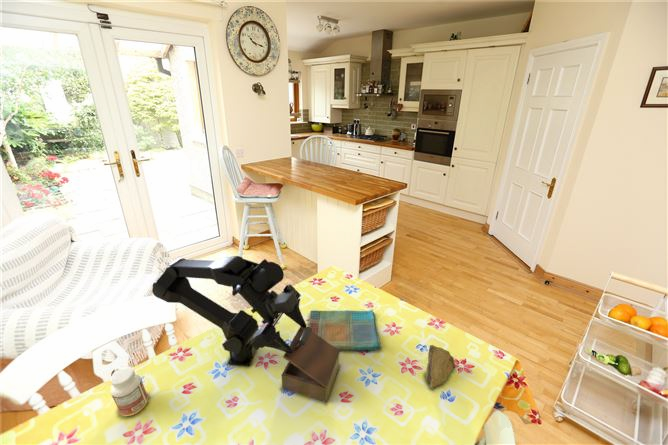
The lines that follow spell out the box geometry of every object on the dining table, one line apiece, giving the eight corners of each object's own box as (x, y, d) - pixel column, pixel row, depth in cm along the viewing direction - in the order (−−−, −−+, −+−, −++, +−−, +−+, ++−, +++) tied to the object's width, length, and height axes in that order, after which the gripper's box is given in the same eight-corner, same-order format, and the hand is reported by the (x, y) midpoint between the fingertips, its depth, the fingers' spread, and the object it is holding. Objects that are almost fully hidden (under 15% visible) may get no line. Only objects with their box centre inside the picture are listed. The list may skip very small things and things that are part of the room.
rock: (450, 349, 89) (419, 347, 88) (465, 346, 81) (432, 343, 80) (456, 390, 83) (423, 388, 82) (472, 391, 76) (436, 388, 75)
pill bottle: (128, 394, 76) (115, 364, 72) (152, 392, 77) (142, 362, 73) (114, 418, 71) (100, 387, 66) (140, 416, 71) (128, 385, 67)
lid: (282, 357, 74) (291, 346, 71) (300, 325, 84) (309, 314, 81) (325, 388, 73) (336, 378, 71) (338, 352, 83) (348, 342, 81)
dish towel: (381, 352, 90) (382, 346, 89) (306, 351, 90) (306, 345, 89) (374, 313, 106) (374, 308, 105) (310, 313, 106) (310, 307, 105)
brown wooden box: (282, 388, 79) (281, 374, 77) (299, 355, 89) (299, 342, 87) (326, 402, 75) (326, 388, 73) (338, 366, 85) (339, 352, 83)
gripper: (257, 307, 64) (304, 357, 66) (292, 264, 80) (330, 304, 82) (231, 326, 69) (275, 371, 71) (269, 282, 86) (305, 320, 87)
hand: (298, 339), depth 78 cm, fingers open, 9 cm apart
